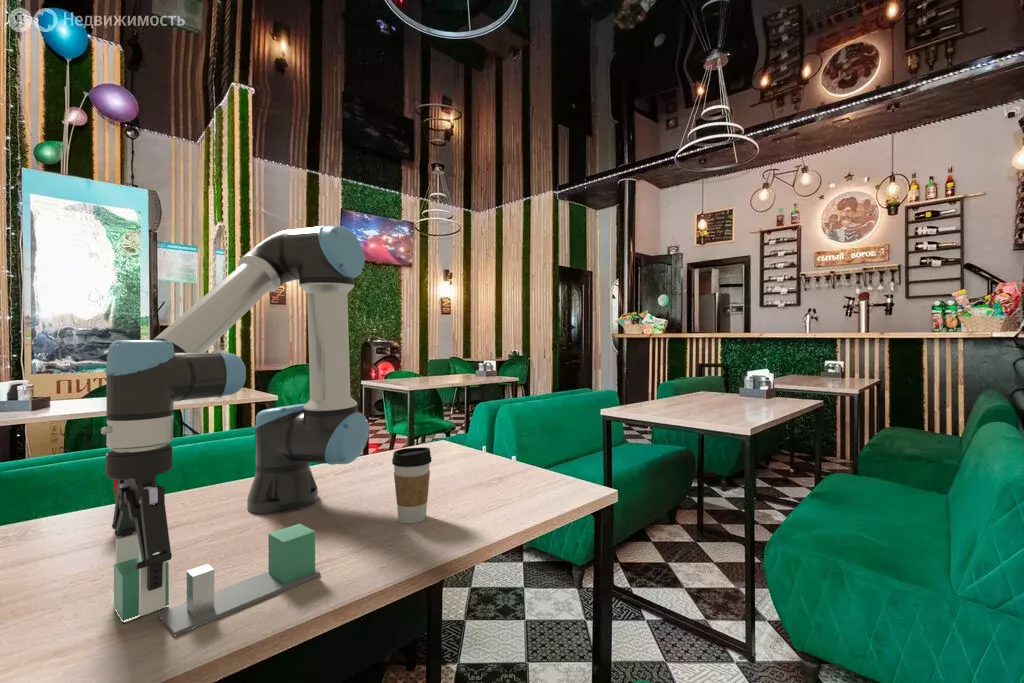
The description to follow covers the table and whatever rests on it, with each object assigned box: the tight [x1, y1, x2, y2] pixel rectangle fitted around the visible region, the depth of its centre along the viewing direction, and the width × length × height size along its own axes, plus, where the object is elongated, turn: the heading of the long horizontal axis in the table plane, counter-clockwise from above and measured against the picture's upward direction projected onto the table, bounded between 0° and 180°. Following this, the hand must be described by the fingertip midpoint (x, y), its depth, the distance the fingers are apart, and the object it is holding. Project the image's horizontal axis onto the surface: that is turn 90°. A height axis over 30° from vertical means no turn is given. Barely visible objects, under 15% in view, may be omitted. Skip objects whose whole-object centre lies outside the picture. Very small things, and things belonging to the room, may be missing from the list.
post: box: [186, 563, 215, 616], centre depth 65 cm, size 3×3×6 cm
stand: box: [158, 523, 321, 637], centre depth 70 cm, size 7×20×7 cm, turn 141°
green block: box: [113, 552, 170, 621], centre depth 66 cm, size 5×5×7 cm
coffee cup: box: [391, 446, 433, 525], centre depth 99 cm, size 8×8×15 cm
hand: (139, 594), depth 66 cm, fingers open, 13 cm apart
